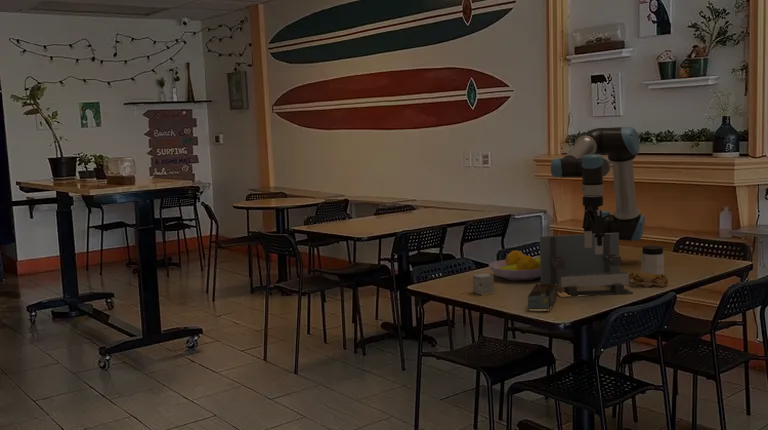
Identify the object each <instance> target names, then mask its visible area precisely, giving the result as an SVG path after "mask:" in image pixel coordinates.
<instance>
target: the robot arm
mask: <svg viewBox="0 0 768 430" xmlns="http://www.w3.org/2000/svg"><path fill="white" fill-rule="evenodd" d="M639 153H640V138H639V135H638V131H636V129H635V128H634V127H633V126H632V127H630V126H617V127H616V126H615V127H596V128H593V129H591V130H588V131H586V132H584V133H582V134H581V135H580V136H579V137H577V138H576V139H575V141H574V145H573V146H572V147H571V148H570V150H569V151H567V153H565V155H564V156H563V157H562V158H559V157H558V158H553V159H552V160H551V162H550V174H551V176H552V177H554V178H560V179H562V178H581V179H582V180H581V181H582V187H581V188H580V190H582V195H583V196H582V206H583V207H584V212H583V219H582V220H583V221H582V229H583V234H584V238H585V248H592V234H595V235H594V237H595V254H603V236H605V233H619V241H628V242H634V241H636V242H637V241H641V240H642V238H643V233H644V230H645V223H646V222H645V221H646V217H645V215H643V214H641V210H640V209H639V208H637V201H636V189H635V187H636V186H635V185H636V184H635V175H634V162H633V161H634V160H635V159H636V157H637V155H638V154H639ZM603 155H604V156H606V155H607V158H605V157H603ZM610 162H611V163H610ZM611 166H612V176H613V177H612V178H613V187H614V189H613V190H614V199H615V210H614V211H613V213H612V214H611V212H610V211H609V210H604V211H603V210H601V209H599V208H600V207H602V206H603V205H604V197H603V194H604V177H605V176H607V175H608V174H609V172H610V170H611Z"/></svg>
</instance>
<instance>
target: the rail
mask: <svg viewBox="0 0 768 430" xmlns="http://www.w3.org/2000/svg"><path fill="white" fill-rule="evenodd" d="M629 274H630V273H628V272H627V271H619V272H613V273H592V274H572V275H559V285H558V286H559V287H560V288H564V287H577V288H578V287H594V286H595V287H596V286H610V285H617V284H623V285H629V284H630V283H629Z"/></svg>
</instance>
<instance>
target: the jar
mask: <svg viewBox="0 0 768 430" xmlns="http://www.w3.org/2000/svg"><path fill="white" fill-rule="evenodd" d="M641 249H642V252H641V273H653V274H655V275H656V274H659V275H660V274H662V275H664V276H665V253H664V247H663V246H661V245H645V246H642V248H641Z"/></svg>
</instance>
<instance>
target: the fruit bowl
mask: <svg viewBox="0 0 768 430" xmlns="http://www.w3.org/2000/svg"><path fill="white" fill-rule="evenodd" d="M488 267H489V268H490V269H491V271H492V272H493V273H494V276H497V277H501V278H502V279H506V280H508V281H512V282H519V281H521V280H522V281H534V280H537V279H538V278H541V271H540V256H539V257H536V258H533V257H532V256H531V255H526V254H525V253H523V252H522V251H520V250H518V249H517V250H512V251H510V252H509V253H508V254H507V255H506V257H505V259H501V260H495V261H492V262H491V263H490V264H488Z"/></svg>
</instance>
